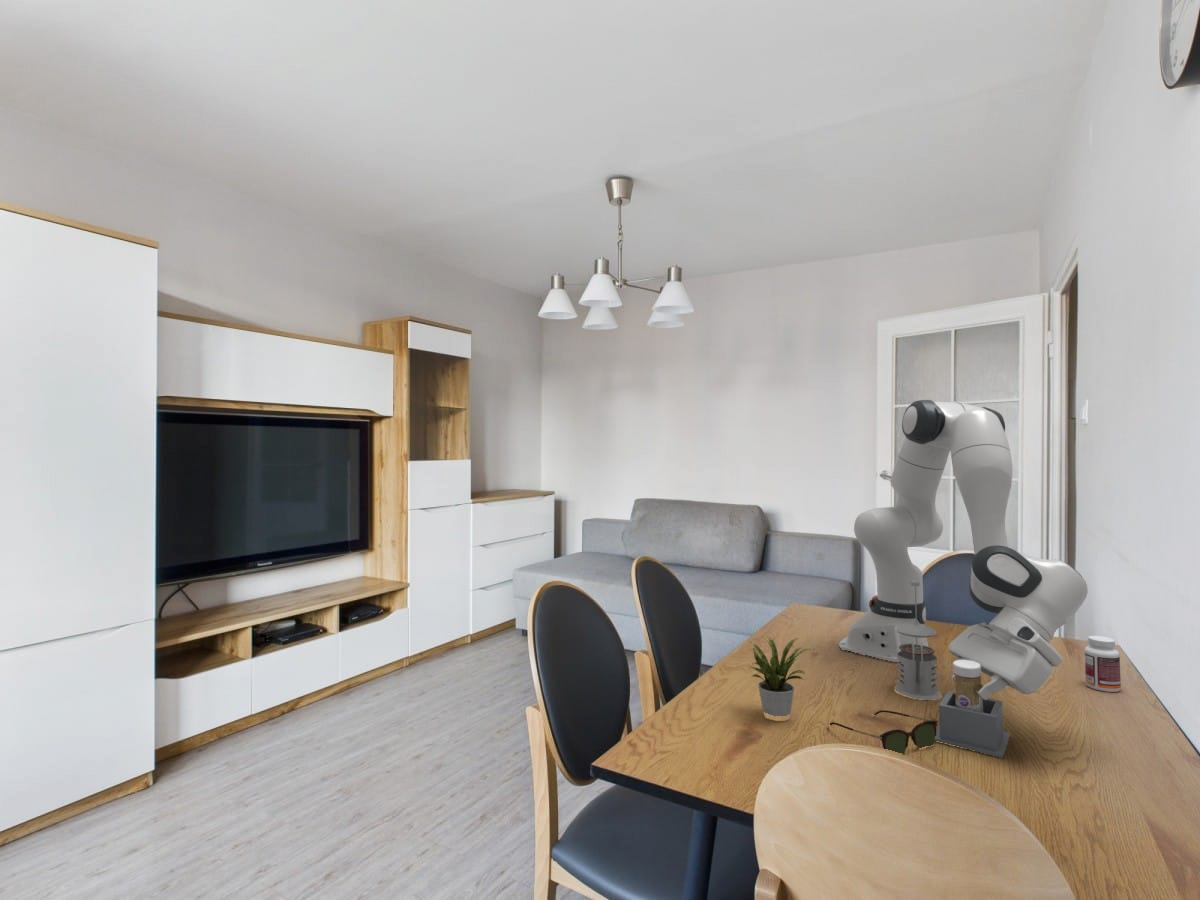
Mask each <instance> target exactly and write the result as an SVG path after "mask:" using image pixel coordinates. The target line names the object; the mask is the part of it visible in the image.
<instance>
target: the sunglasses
mask: <svg viewBox="0 0 1200 900" xmlns="http://www.w3.org/2000/svg"><path fill="white" fill-rule="evenodd" d="M880 713H888V714H894V715H898V716H903V717H907V718H913V719H917V720H922V722H920V723H918V724H917V725H916V726H914V727H913V728H912V729H911V731H908V732H907V731H905V730H903V729H892V730H888V731H886V732H883V733H882V734H880V735H876V734H871V733H869V732H868V733H867V732H864V731H860V730H857V729H855V728H852V727H850V726H846V725H843V724H840V723H837V722H835V721H833V722H832V721H831V722H830V723H829V724H830V725H831V726H832V725H835V726H838V727H841V728H844V729H845V730H846V729H847V730H850V731H851V732H855V733H858V734H861V735H865V736H869V737H872V738H873V739H878V740H880V741H881V743H882V748H884V749H888V750H892V751H895V752H898V753H902V754H904V755H905V753H906V750H907V748H908V745H909V742H910V741H909V739H910V738H911V740H912V742H913V745H915V746H916V747H917V749H918V750H919V748H922V747H925V746H931V745H933V744H934V745H935V743H936V742H935V736H936V732H937V726H938V722H939V721H938V720H932V719H927V718H923V717H919V716H915V715H910V714H906V713H903V712H902V713H900V712H899V711H898V712H897V711H893V710H884V709H883V710H878V711H876V712H874V713H873V714H874V715H875V716H877V715H879V714H880ZM884 749H883V750H884Z"/></svg>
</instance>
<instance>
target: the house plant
mask: <svg viewBox="0 0 1200 900" xmlns="http://www.w3.org/2000/svg"><path fill="white" fill-rule="evenodd" d="M761 637H762V638H763V639H764V640H765V641H766V643H767V644H768V646H769V647H770V649H771V656H772V657H770V660H769V661H768V658H767V656H766V655H765V653H764V651H763V650H762V649H761V647H759V646H758V645H757V644H756V643H754V642H753V641H751V640H748V639H747V640H748V642H749V643H750V644H751V645H752V646H754V647H752V648H753V649H752V650H753V651H752V654H754V655H753V656H754V660H755V661H756V662H754V663H753V662H752V663H751V664H752V665H751V666H750V665H749V666H748V667H749V668H751V669H752V670H753V669H754V670H755V671H757V672H758V673H761V674H762V675H763V677H764V678H763V677H762V676H760V675H759V674H752V675H751V676H750V678H751V677H755V678H760V679H762V681H759V682H758V685H757V686H758V690H759V696H760V701H761V708H762V712H763V711H764V712H765V713H768V714H770V715H773V716H787V715H789V714H790V713H791V712H792V708H793V707H792V706H793V705H792V704H793V699H794V692H795V686H794V685H793V684H792V683H791V682H787V681H789V680H794V679H795V680H796V679H798V680H799V679H800V680H803V678H802V677H801V676H799V675H794V674H803V675H805V676H807V674H806V673H805V671H803V670H801V669H797V670H794V671H792V672H791V673H789V671H790V669H791V667H792V665H793V664H794V663H795V661H798V658H797V657H799V655H801V654H802V653H804V652H807V651H812V650H813V651H814V650H816V648H811V647H810V648H805V649H802V648H803V646H801V647H797V648H796V649H794V651H793V652H792V653H791V654H790V656H788V657H787V655H788V653H789V651H790V649H791V648H795V646H793V645H794V643H795V642H796V641H797V640H798V639H799V637H795V638H793V639H791V640H790V641H789V642H788V643H787V644H786V645H785V647H784V648H783V651H782V654H781V655H782V656H781V659H780V661H779V653H778V649H777V645H776V643H775V641H774V640H773V639H772V638H771V637H769V636H767V635H766V638H764V636H763V635H761ZM800 649H802V650H800ZM798 651H799V652H798ZM747 652H750V650H747ZM786 658H787V659H786ZM753 665H757V666H759V667H757V666H753ZM788 673H789V675H788ZM791 714H792V713H791ZM791 714H790V715H791Z"/></svg>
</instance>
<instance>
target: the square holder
mask: <svg viewBox="0 0 1200 900" xmlns="http://www.w3.org/2000/svg"><path fill="white" fill-rule="evenodd" d="M942 698H943V699H942V700H941V702H940V703H939V704H938V713H939V714H938V715H939V717H938V718H939V721H938V722H939V727H938V728H937V729H936V736H935V741H939V742H943V743H947V744H951V745H955V746H959V747H963V748H967V749H971V750H975V751H978V752H982V753H986V754H989V755H988V756H990V755H994V756H997V757H996V758H998V757H1001V758H1000V759H1004V757H1005V754H1006V751H1007V748H1008V745H1009V741H1010V739H1009V738H1011V732H1008V731H1004V707H1003V706H1004V705H1003V704H1004V702H1003V700H998V699H992V698H990V697H989V698H988V699H987V700H984V699H983V698H982V701H983V712H979V711H974V710H969V709H964V708H959V707H956V693H955V691H951V690H947V692H946V693H945V695H944V696H943V697H942ZM1006 747H1007V748H1006ZM978 752H977V753H978ZM982 753H981V754H982ZM1004 753H1005V754H1004ZM986 754H985V755H986ZM994 756H993V757H994ZM1003 756H1004V757H1003Z"/></svg>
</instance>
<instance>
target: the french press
mask: <svg viewBox="0 0 1200 900" xmlns="http://www.w3.org/2000/svg"><path fill="white" fill-rule="evenodd" d="M911 585H912V586H915V612H916V623H907V624H904V625H901V626H899V627H898V628H897V629H896V630H897V632H898V633H900V634H902V635H906V636H910V637H916V644H914V642H912V644H908V645H907V644H904V645H900V647H899V648H900V650H901V651H900V652H898V653H897V659H898V660H899V661H900V662H897V666H898V667H897V671H898V673H897V677H898V678H897V685H895V686H896V687H895V686H894V688H895V689H896V691H898V692H899V693H901V694H903V695H906V696H909V697H912V698H916V699H923V700H933V699H938V698H941V696H942V695H943V694H942V692H940V690H939V689H938V683H937V682H938V677H937V676H938V672H937V670H938V666H937V664H938V659H937V656H935V655H934V653H935V651H936V650H935V649H934V648H932V647H930V646H928V647H926V646H922V642H921V645H917V637H919V638H932V637H935V636H936V635H937V633H938V632H937V631H936V630H935V629H933V628H932V627H931V626H928V625H926V624H925V625H923V624H919V623H917V605H916V586H920V582H919V581H917V580H913V581H911ZM899 667H900V668H899ZM899 673H900V674H899ZM942 697H943V696H942ZM941 699H942V698H941Z"/></svg>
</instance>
